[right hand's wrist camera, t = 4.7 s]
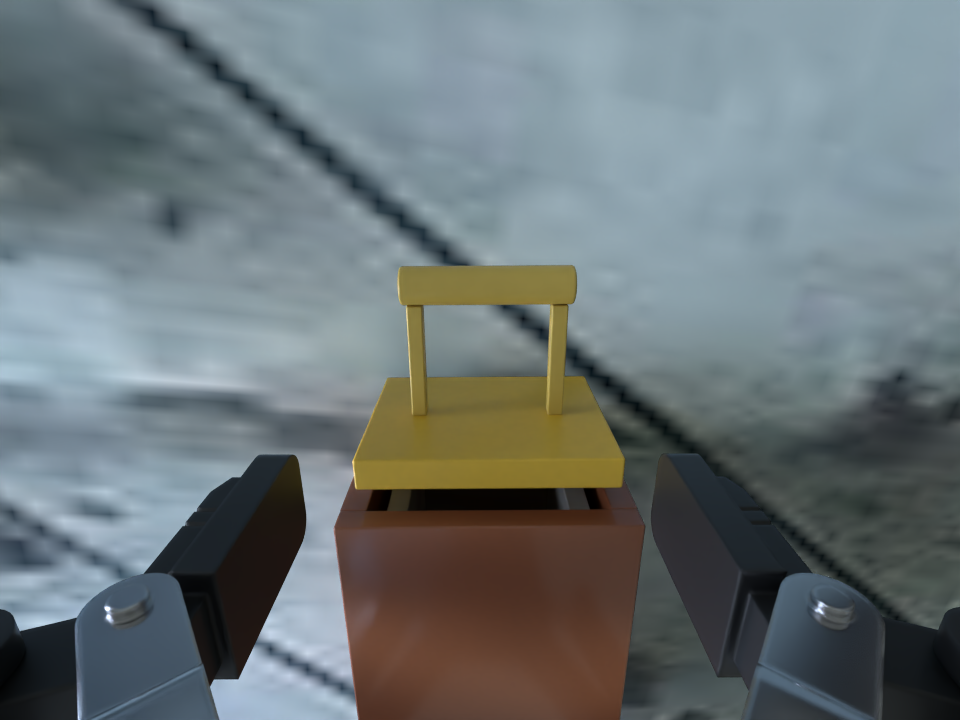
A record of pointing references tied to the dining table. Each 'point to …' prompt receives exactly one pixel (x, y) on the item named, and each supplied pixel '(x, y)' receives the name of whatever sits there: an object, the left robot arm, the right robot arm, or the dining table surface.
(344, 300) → the dining table surface
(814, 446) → the dining table surface
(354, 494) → the cabinet
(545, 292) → the drawer
